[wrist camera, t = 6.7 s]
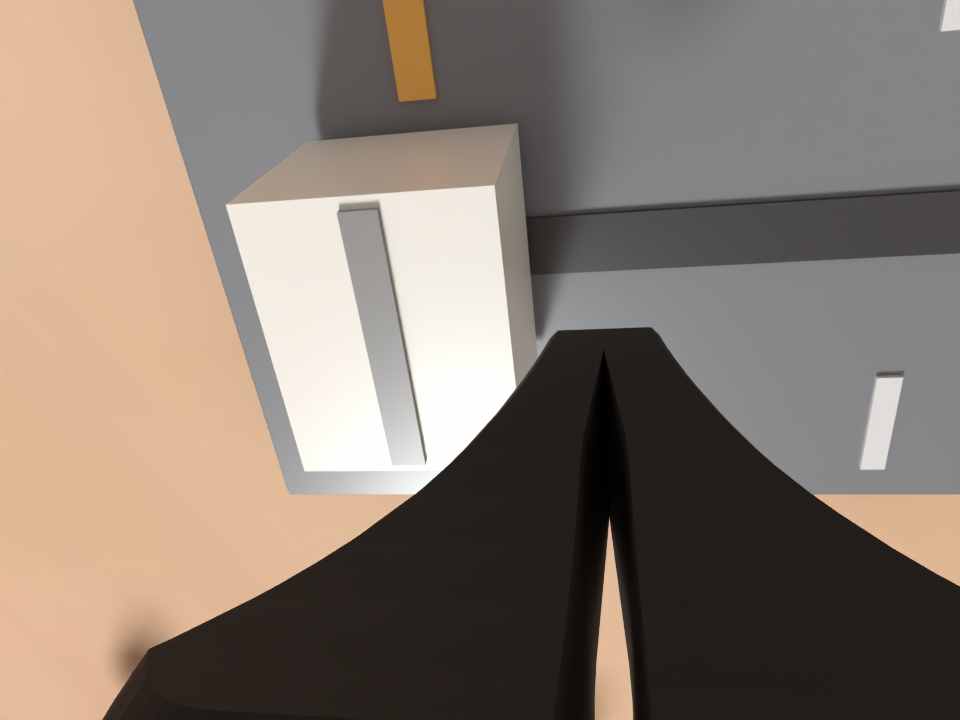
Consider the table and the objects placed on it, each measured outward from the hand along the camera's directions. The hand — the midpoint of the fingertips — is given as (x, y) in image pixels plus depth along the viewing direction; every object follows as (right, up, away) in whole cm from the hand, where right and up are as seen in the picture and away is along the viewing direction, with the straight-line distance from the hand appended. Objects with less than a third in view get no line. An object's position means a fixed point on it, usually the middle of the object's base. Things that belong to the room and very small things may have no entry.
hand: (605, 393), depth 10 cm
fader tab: (-3, +2, +5) cm, 6 cm away
